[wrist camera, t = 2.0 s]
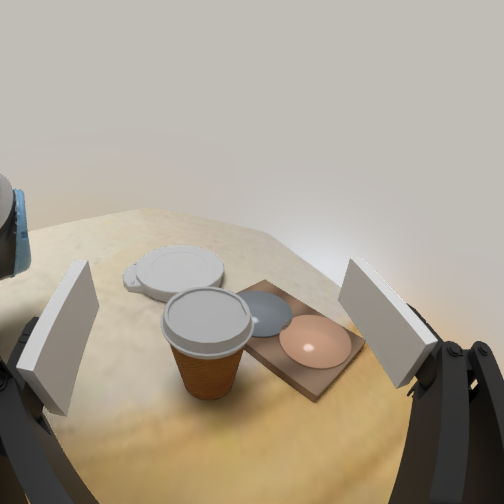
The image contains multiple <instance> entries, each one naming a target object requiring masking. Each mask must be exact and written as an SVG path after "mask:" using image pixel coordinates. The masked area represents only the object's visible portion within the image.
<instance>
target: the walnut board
mask: <svg viewBox="0 0 504 504" xmlns="http://www.w3.org/2000/svg"><path fill="white" fill-rule="evenodd" d="M245 291H263V292H268V293H271V294H274V295H276V296H278V297H280V298H281V299H283V300H284V301H285V302H286V303H287V304H288V305H289V306H290V308H291V310H292V313H293V318H294V317H297V316H301V315H316V316H321V317H325V318H327V317H326V316H324V315H322V314H321V313H319V312H317V311H316V310H314V309H313V308H311V307H309V306H308V305H306V304H304V303H303V302H301V301H299V300H298V299H296V298H294V297H293V296H291V295H289V294H288V293H286V292H285V291H283V290H281V289H280V288H278V287H276V286H275V285H273V284H272V283H270V282H268V281H267V280H263V281H261V282H259V283H257V284H255V285H252V286H250V287H248V288H246V289H244V290H242V291H240V292H245ZM240 292H238V293H240ZM236 294H237V293H236ZM328 319H329V318H328ZM330 320H331V319H330ZM340 326H341V325H340ZM341 327H342V326H341ZM342 328H343V329H344V330H345V331H346V332H347V334H348V335H349V337H350V340H351V352H350V354H349V356H348V358H347V359H346V360H345V361H344V362H343V363H342V364H340V365H339V366H337V367H334V368H330V369H312V368H308V367H305V366H302V365H300V364H298V363H296V362H295V361H293V360H292V359H291V358H289V357H288V356H287V355H286V354H285V352H284V351H283V349H282V347H281V345H280V341H279V335H280V334H279V335H276V336H273V337H268V338H256V337H251V338H250V339H249V340H248V341H247V343H246V344H245V347H244V349H245V350H246V351H247V352H248V353H250V354H251V355H252V356H253V357H254V358H256V359H257V360H258V361H259V362H261V363H262V364H263V365H265V366H266V367H267V368H268V369H270V370H271V371H272V372H274V373H275V374H276V375H277V376H279V377H280V378H281V379H283V380H284V381H285V382H287V383H288V384H289V385H291V386H292V387H293V388H295V389H296V390H297V391H299V392H300V393H302V394H303V395H304V396H306V397H307V398H309V399H310V400H311V401H313V402H314V401H315V400H316V399H317V398H318V397H319V396H320V395H321V394H322V393H323V392H324V391H325V390H326V389H327V388H328V387H329V386H330V385H331V384H332V383H333V381H334V380H335V379H336V378H337V377H338V376H339V375H340V374H341V373H342V371H343V370H344V369H345V368H346V367H347V366H348V364H349V363H350V362H351V361H352V360H353V359H354V357H355V356H356V355H357V354H358V353H359V351H360V350H361V349H362V348H363V346H364V344H365V342H366V341H365V340H364V339H363V338H361V337H359V336H358V335H356V334H354V333H353V332H351V331H349V330H348V329H346V328H344V327H342Z"/></svg>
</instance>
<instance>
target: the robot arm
mask: <svg viewBox="0 0 504 504" xmlns="http://www.w3.org/2000/svg"><path fill="white" fill-rule="evenodd" d="M30 264H31V252H30V245H29V238H28V230H27V220H26V211H25V200H24V193H23V191H22V190H20V189H19V190H17V189H13V190H12V187H11V184H10V182H9V181H8V179H7V178H6V177H4V176H3V175H1V174H0V280H3V279H6V278H9V277H11V278H12V277H14V276H15V275H16V274H19V273H21V272H23V271H26V270H27V269H28V268H29V267H30ZM338 301H339V302H340V304H341V305H342V306H343V308H344V309H345V311H346V312H347V314H348V315H349V317H350V318H351V320H352V321H353V323H354V324H355V326H356V327H357V329H358V330H359V332H360V333H361V335H362V336H363V338H364V339H365V341H366V342H367V344H368V345H369V347H370V348H371V350H372V351H373V353H374V355H375V356H376V358H377V359H378V361H379V362H380V364H381V365H382V367H383V369H384V370H385V372H386V373H387V375H388V377H389V378H390V380H391V381H392V383H393V385H394V386H395V388H396V389H397V388H400V387H402V386H405V385H408V384H409V383H410V381H411V380H412V379H413V377H414V376H416V378H417V379H418V380H417V382H416V383H415V384H414V385H413V387H412V388H411V389H410V391H409V392H408V394H407V396H409V395H410V394H411V393H412V392H413V391H414V394H413V396H412V398H413V402H412V409H411V415H410V421H409V427H408V432H407V437H406V442H405V447H404V451H403V455H402V459H401V463H400V467H399V471H398V474H397V478H396V481H395V484H394V487H393V491H392V494H391V497H390V500H389V502H388V504H504V380H503V377H502V374H501V372H500V369H499V367H498V364H497V362H496V360H495V357H494V355H493V353H492V351H491V349H490V347H489V346H488V345H487V344H485V343H483V342H481V341H476V342H475V343H474V344H473V346H472V347H471V349H469V350H463V349H462V348H461V347H460V346H459V345H458V344H456V343H454V342H451V341H446V342H444V341H443V340H442V339H441V338H440V337H439V336H438V334H437V333H436V332H435V331H434V330H433V329H432V327H431V326H430V325H429V324H428V323H426V321H425V319H424V318H423V317H421V315H420V314H419V313H418V312H417V311H416V309H414V308H413V307H411V306H410V305H408V304H407V303H405V302H404V301H403V300H402V299H401V298H400V297H399V296H398V295H397V293H396V292H395V291H394V290H393V289H392V288H391V287H390V286H389V285H388V284H387V283H386V282H385V281H384V280H383V279H382V277H381V276H380V275H379V274H378V273H377V272H376V271H375V270H374V269H373V268H372V267H371V266H370V265H369V264H368V263H367V262H366V261H365V260H364V259H363V258H362V257H361V258H350V261H349V264H348V268H347V271H346V275H345V278H344V281H343V285H342V288H341V291H340V294H339V297H338ZM98 309H99V303H98V300H97V296H96V292H95V288H94V284H93V280H92V276H91V272H90V267H89V263H88V260H74V262H73V263H72V265H71V266H70V268H69V269H68V271H67V273H66V274H65V276H64V277H63V279H62V280H61V282H60V284H59V285H58V287H57V288H56V290H55V292H54V293H53V295H52V297H51V298H50V300H49V302H48V304H47V305H46V307H45V309H44V311H43V313H42V314H41V316H40V317H34V318H33V319H32V320H31V321H30V322H28V323H27V324H26V326H25V328H24V330H23V332H22V335H21V336H20V338H19V340H18V343H17V344H16V346H15V348H14V350H13V352H12V354H11V356H10V358H9V360H8V363H7V365H6V364H5V363H4V361H3V360H2V358H1V357H0V504H28V502H27V499H26V496H25V494H26V495H27V497H28V499H29V501H30V503H31V504H99V503H98V501H97V500H96V499H95V497H94V496H93V495H92V493H91V492H90V491H89V489H88V488H87V487H86V485H85V484H84V482H83V481H82V480H81V478H80V477H79V475H78V474H77V472H76V471H75V469H74V468H73V466H72V464H71V463H70V461H69V460H68V458H67V456H66V455H65V453H64V451H63V449H62V448H61V446H60V444H59V442H58V441H57V439H56V437H55V435H54V433H53V431H52V429H51V427H50V425H49V423H48V421H47V419H46V417H45V415H44V414H43V413H42V410H43V406H45V407H46V408H47V409H48V410H49V412H50V413H53V414H57V415H62V416H67V413H68V408H69V404H70V399H71V395H72V391H73V387H74V383H75V380H76V376H77V372H78V369H79V365H80V362H81V359H82V355H83V352H84V349H85V346H86V343H87V340H88V337H89V334H90V331H91V328H92V325H93V322H94V320H95V317H96V314H97V311H98ZM475 379H477V382H478V384H477V385H476V386H475V388H474V389H472V388H471V386H470V385H471V384H472V383H473V382H474V380H475ZM24 492H25V493H24Z"/></svg>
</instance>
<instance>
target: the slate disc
mask: <svg viewBox="0 0 504 504" xmlns="http://www.w3.org/2000/svg"><path fill="white" fill-rule="evenodd" d="M237 295H238V296H240V297H241V298H242V299H243V300H244V301H245V302H246V304H247V305H248V307H249V310H250V313H251V315H252V317H253V321H254V329H253V333H252V335H251V337H256V338H268V337H273V336H276V335H279V334H280V332H282V331H281V328H282V326H283V328H284V330H285V327H287V326H288V324H287V325H286V326H284V324H285V323H288V322H287V321H289V320H290V321H289V322H290V323H291V321H292V320H291V319H292V318H293V313H292V310H291V308H290V306H289V305H288V304H287V303H286V302H285V301H284V300H283V299H281V298H280V297H278V296H276V295H274V294H271V293H268V292H263V291H245V292H240V293H237ZM290 323H289V324H290ZM283 328H282V329H283Z"/></svg>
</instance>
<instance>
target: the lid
mask: <svg viewBox="0 0 504 504" xmlns="http://www.w3.org/2000/svg"><path fill="white" fill-rule="evenodd" d="M223 274H224V264H223V262H222V260H221V259H220V257H219V256H217V255H216V254H215V253H213V252H212V251H209V250H207V249H204V248H202V247H197V246H191V245H172V246H165V247H161V248H158V249H154V250H152V251H150V252H148V253H146V254H145V255H144V256H143V257H142V258H141V259H139V261H138V262H136V263H133V264H132V265H130V266H129V267H128V268H127V269H126V270H125V272H124V274H123V282H124V286H125V287H126V289H127V290H128V291H129V292H136V293H144V294H147V295H148V296H150V297H152V298H153V299H155V300H159V301H162V302H166V303H168V301H169V300H170V299H171V298H172V297H173V296H174V295H176V294H177V293H179V292H181V291H183V290H186V289H189V288H194V287H202V286H209V287H219V285H220V284H221V278H222V276H223Z"/></svg>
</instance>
